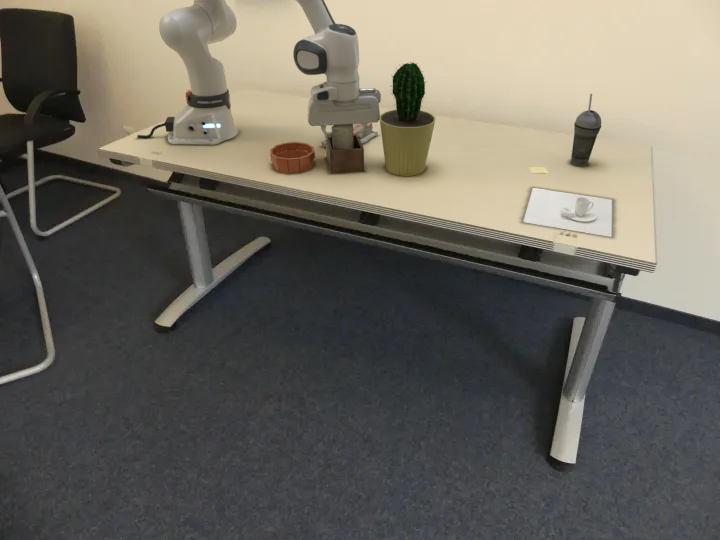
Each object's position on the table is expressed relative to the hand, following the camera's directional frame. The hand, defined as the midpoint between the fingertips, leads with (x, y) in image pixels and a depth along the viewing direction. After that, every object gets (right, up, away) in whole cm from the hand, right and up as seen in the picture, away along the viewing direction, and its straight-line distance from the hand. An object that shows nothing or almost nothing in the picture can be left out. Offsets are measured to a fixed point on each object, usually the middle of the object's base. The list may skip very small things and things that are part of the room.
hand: (344, 138), depth 159 cm
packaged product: (+1, +4, +20) cm, 20 cm away
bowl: (-15, -7, +4) cm, 17 cm away
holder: (0, -7, +4) cm, 8 cm away
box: (0, -6, +4) cm, 7 cm away
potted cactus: (+18, -8, +2) cm, 20 cm away
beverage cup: (+69, -6, +4) cm, 69 cm away
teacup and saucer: (+57, -23, -20) cm, 64 cm away
